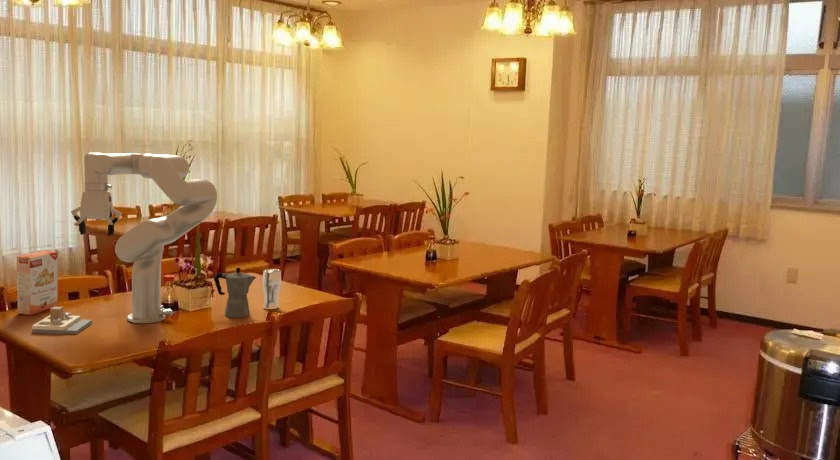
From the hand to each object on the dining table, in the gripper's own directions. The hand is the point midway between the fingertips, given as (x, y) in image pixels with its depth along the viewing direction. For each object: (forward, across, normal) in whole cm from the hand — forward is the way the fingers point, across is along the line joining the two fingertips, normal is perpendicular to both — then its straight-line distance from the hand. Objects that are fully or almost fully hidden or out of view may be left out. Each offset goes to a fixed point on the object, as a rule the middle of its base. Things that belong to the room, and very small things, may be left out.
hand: (96, 234), depth 255 cm
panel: (+27, +5, +22) cm, 35 cm away
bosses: (+27, +3, +22) cm, 35 cm away
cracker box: (+29, +20, +2) cm, 35 cm away
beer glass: (+28, -61, -13) cm, 69 cm away
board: (+28, +3, +22) cm, 36 cm away
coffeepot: (+28, -49, -2) cm, 57 cm away
